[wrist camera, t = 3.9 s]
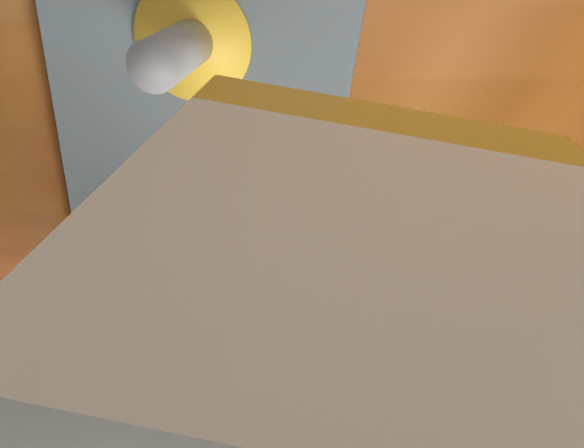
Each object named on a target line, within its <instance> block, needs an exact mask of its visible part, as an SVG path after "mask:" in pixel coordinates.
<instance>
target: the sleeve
mask: <svg viewBox="0 0 584 448" xmlns="http://www.w3.org/2000/svg"><path fill="white" fill-rule="evenodd" d="M0 448H584V152H583V151H582V150H581V149H580V148H579V147H578V146H577V145H576V144H575V143H574V142H573V141H572V140H571V139H570V138H569V137H568V136H562V135H557V134H551V133H545V132H540V131H534V130H528V129H523V128H517V127H511V126H505V125H500V124H494V123H488V122H483V121H477V120H471V119H466V118H460V117H454V116H449V115H443V114H437V113H431V112H426V111H420V110H414V109H409V108H403V107H397V106H392V105H386V104H380V103H375V102H369V101H363V100H357V99H352V98H346V97H340V96H335V95H329V94H323V93H318V92H312V91H306V90H301V89H295V88H289V87H283V86H278V85H272V84H266V83H261V82H255V81H249V80H244V79H238V78H232V77H227V76H221V75H214V76H213V77H212V78H211V79H210V80H209V81H208V82H207V83H206V84H205V85H204V86H203V87H202V88H201V89H200V90H199V91H198V92H197V93H196V94H195V95H194V96H192V97H191V98H190V99H189V100H188V101H187V102H186V103H185V104H184V105H183V106H182V107H181V108H180V109H179V110H178V111H177V112H176V113H175V114H174V115H173V116H172V117H171V118H170V119H169V120H168V121H166V122H165V123H164V124H163V125H162V126H161V127H160V128H159V129H158V130H157V131H156V132H155V133H154V134H153V135H152V136H151V137H150V138H149V139H148V140H147V141H146V142H145V143H144V144H143V145H142V146H141V147H139V148H138V149H137V150H136V151H135V152H134V153H133V154H132V155H131V156H130V157H129V158H128V159H127V160H126V161H125V162H124V163H123V164H122V165H121V166H120V167H119V168H118V169H117V170H116V171H115V172H113V173H112V174H111V175H110V176H109V177H108V178H107V179H106V180H105V181H104V182H103V183H102V184H101V185H100V186H99V187H98V188H97V189H96V190H95V191H94V192H93V193H92V194H91V195H90V196H89V197H88V198H86V199H85V200H84V201H83V202H82V203H81V204H80V205H79V206H78V207H77V208H76V209H75V210H74V211H73V212H72V213H71V214H70V215H69V216H68V217H67V218H66V219H65V220H64V221H63V222H62V223H60V224H59V225H58V226H57V227H56V228H55V229H54V230H53V231H52V232H51V233H50V234H49V235H48V236H47V237H46V238H45V239H44V240H43V241H42V242H41V243H40V244H39V245H38V246H37V247H36V248H35V249H33V250H32V251H31V252H30V253H29V254H28V255H27V256H26V257H25V258H24V259H23V260H22V261H21V262H20V263H19V264H18V265H17V266H16V267H15V268H14V269H13V270H12V271H11V272H10V273H9V274H7V275H6V276H5V277H4V278H3V279H2V280H1V281H0Z"/></svg>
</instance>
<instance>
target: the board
mask: <svg viewBox="0 0 584 448" xmlns="http://www.w3.org/2000/svg"><path fill="white" fill-rule="evenodd" d="M35 2H36V8H37V14H38V20H39V26H40V32H41V37H42V43H43V49H44V55H45V61H46V67H47V73H48V79H49V85H50V91H51V97H52V103H53V109H54V114H55V120H56V126H57V132H58V138H59V144H60V150H61V156H62V162H63V168H64V174H65V180H66V185H67V191H68V197H69V203H70V209H71V213H72V212H73V211H74V210H75V209H76V208H77V207H78V206H79V205H80V204H81V203H82V202H83V201H84V200H85V199H86V198H88V197H89V196H90V195H91V194H92V193H93V192H94V191H95V190H96V189H97V188H98V187H99V186H100V185H101V184H102V183H103V182H104V181H105V180H106V179H107V178H108V177H109V176H110V175H111V174H112V173H113V172H115V171H116V170H117V169H118V168H119V167H120V166H121V165H122V164H123V163H124V162H125V161H126V160H127V159H128V158H129V157H130V156H131V155H132V154H133V153H134V152H135V151H136V150H137V149H138V148H139V147H141V146H142V145H143V144H144V143H145V142H146V141H147V140H148V139H149V138H150V137H151V136H152V135H153V134H154V133H155V132H156V131H157V130H158V129H159V128H160V127H161V126H162V125H163V124H164V123H165V122H166V121H168V120H169V119H170V118H171V117H172V116H173V115H174V114H175V113H176V112H177V111H178V110H179V109H180V108H181V107H182V106H183V105H184V104H185V103H186V102H187V101H188V100H189V99H190V98H191V97H192V96H194V95H195V94H196V93H197V92H198V91H199V90H200V89H201V88H202V87H203V86H204V85H205V84H206V83H207V82H208V81H209V80H210V79H211V78H212V77H213V76H214V75H221V76H227V77H232V78H238V79H244V80H249V81H255V82H261V83H266V84H272V85H278V86H283V87H289V88H295V89H301V90H306V91H312V92H318V93H323V94H329V95H335V96H340V97H346V98H349V94H350V88H351V83H352V77H353V72H354V66H355V61H356V55H357V49H358V44H359V38H360V33H361V27H362V22H363V16H364V10H365V5H366V0H35Z"/></svg>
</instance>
